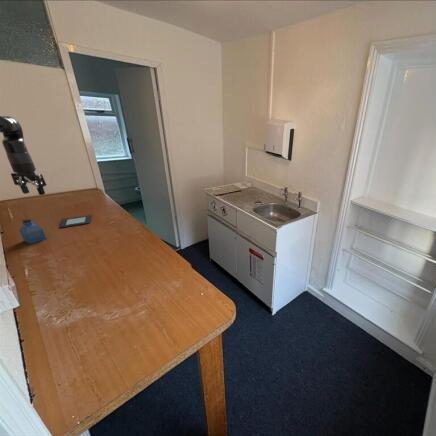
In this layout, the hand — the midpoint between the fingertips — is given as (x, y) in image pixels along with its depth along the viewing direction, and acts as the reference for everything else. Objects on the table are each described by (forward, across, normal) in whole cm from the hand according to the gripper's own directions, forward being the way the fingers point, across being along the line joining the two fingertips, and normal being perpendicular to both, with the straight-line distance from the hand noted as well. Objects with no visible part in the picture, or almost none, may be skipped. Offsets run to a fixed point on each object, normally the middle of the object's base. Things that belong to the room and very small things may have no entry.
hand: (34, 193), depth 117 cm
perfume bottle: (+22, +2, -9) cm, 24 cm away
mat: (+22, +1, +14) cm, 26 cm away
